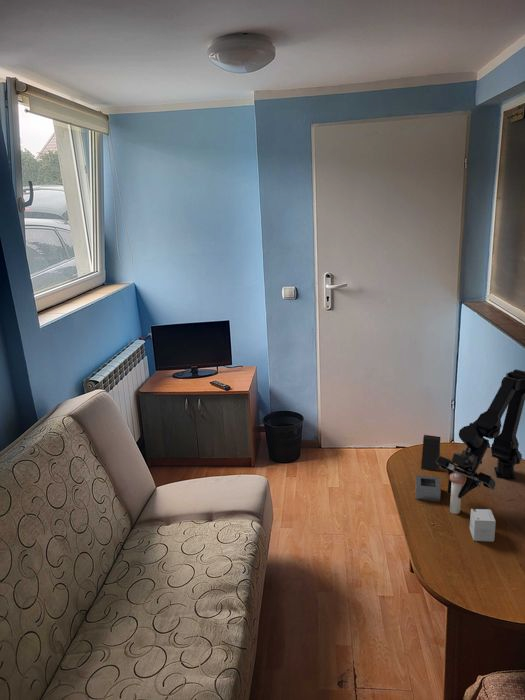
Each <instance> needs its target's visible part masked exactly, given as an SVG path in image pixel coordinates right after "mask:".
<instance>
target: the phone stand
mask: <svg viewBox="0 0 525 700" xmlns="http://www.w3.org/2000/svg"><path fill="white" fill-rule="evenodd" d="M422 438H423V440H422V453H421V454H422V455H421V463H420V465H421V466H420V469H423V470H429V471H435V472H438V470H439V467H440V466H439V465H438V464H437V463H436V460H437V458H439V457H440V456H441V436H436V435H428V434H424V435H423V437H422Z"/></svg>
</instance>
